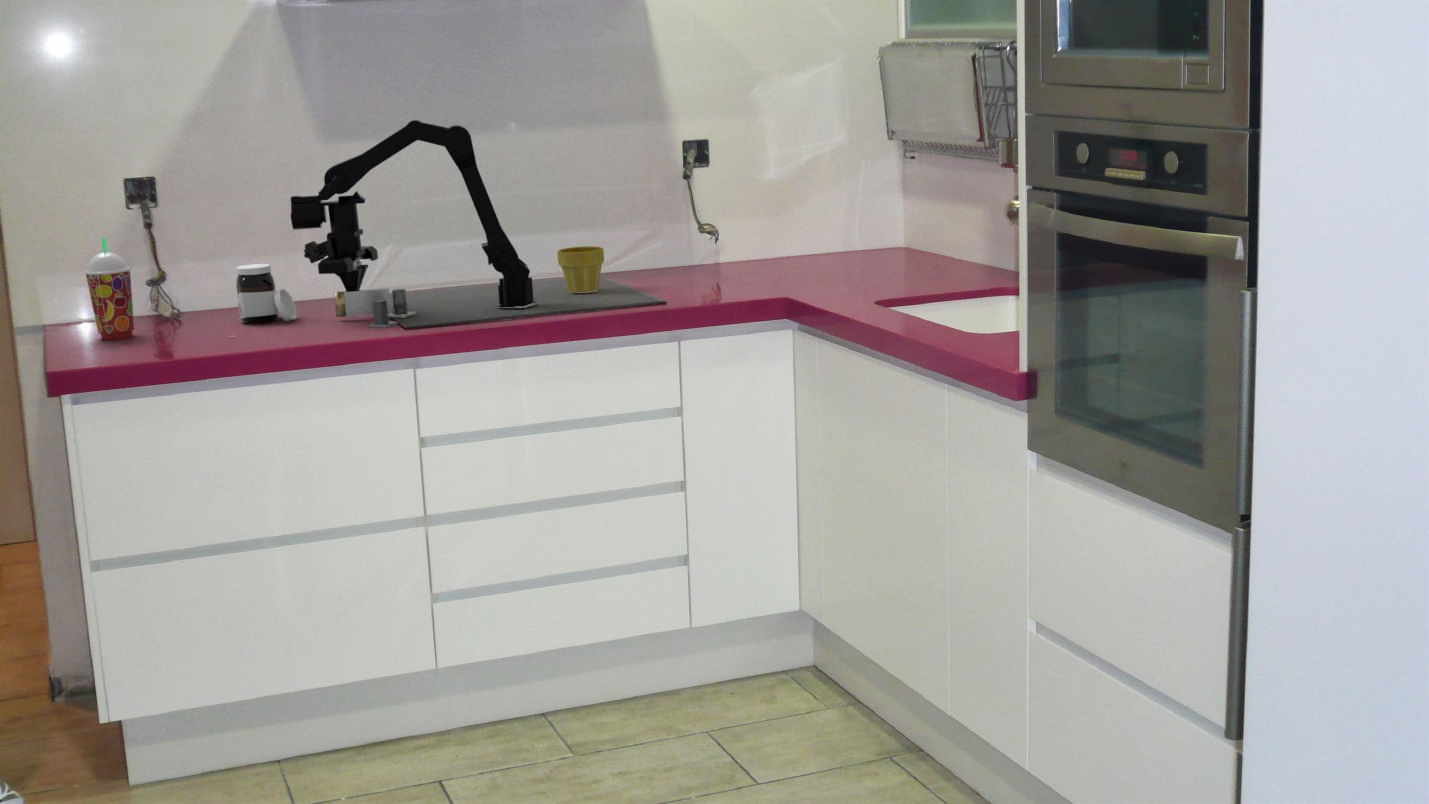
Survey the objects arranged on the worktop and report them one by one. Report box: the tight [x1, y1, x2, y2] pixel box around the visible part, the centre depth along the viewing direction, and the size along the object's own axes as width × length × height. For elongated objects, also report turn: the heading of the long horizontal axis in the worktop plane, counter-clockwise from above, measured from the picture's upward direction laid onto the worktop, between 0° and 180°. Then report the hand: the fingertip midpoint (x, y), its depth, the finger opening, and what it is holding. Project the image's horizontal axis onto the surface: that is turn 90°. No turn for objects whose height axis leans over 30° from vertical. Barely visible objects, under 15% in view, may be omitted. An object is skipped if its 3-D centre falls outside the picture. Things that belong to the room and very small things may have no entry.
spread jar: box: [235, 263, 298, 325], centre depth 296 cm, size 12×11×12 cm
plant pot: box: [557, 245, 605, 293], centre depth 317 cm, size 10×10×10 cm
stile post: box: [369, 300, 398, 329], centre depth 285 cm, size 4×4×5 cm
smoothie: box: [84, 237, 135, 341], centre depth 282 cm, size 8×8×20 cm
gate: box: [333, 287, 392, 318], centre depth 294 cm, size 11×2×5 cm, turn 106°
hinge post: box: [388, 288, 418, 319], centre depth 296 cm, size 5×5×6 cm
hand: (353, 300), depth 295 cm, fingers closed
